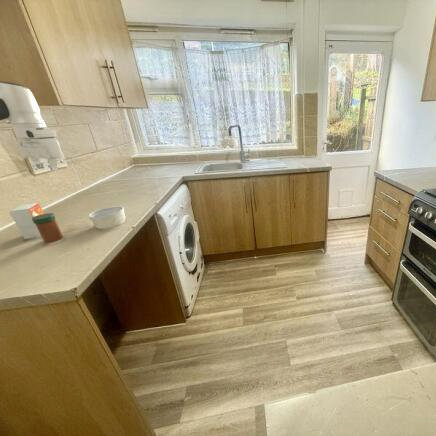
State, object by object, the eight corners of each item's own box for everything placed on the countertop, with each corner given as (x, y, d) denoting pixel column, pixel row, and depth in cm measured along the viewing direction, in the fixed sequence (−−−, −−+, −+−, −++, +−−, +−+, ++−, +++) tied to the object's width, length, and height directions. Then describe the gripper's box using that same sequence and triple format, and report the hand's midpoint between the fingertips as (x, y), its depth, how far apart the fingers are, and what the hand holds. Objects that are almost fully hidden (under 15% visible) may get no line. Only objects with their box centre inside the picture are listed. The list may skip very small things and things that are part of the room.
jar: (43, 245, 97) (31, 221, 93) (46, 240, 102) (34, 216, 98) (62, 241, 100) (51, 218, 96) (64, 236, 105) (54, 213, 101)
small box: (43, 236, 104) (28, 208, 99) (24, 239, 103) (8, 211, 97) (52, 229, 111) (38, 202, 106) (35, 231, 110) (20, 204, 104)
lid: (31, 225, 93) (29, 221, 93) (35, 220, 98) (33, 215, 97) (54, 221, 97) (52, 216, 96) (56, 216, 102) (55, 212, 101)
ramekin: (108, 219, 121) (103, 206, 118) (134, 218, 120) (129, 205, 117) (87, 231, 109) (81, 217, 106) (115, 231, 108) (110, 216, 105)
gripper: (5, 132, 91) (22, 169, 96) (36, 133, 84) (52, 172, 89) (27, 131, 96) (42, 166, 102) (58, 131, 89) (72, 169, 95)
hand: (47, 169), depth 95 cm, fingers open, 8 cm apart
